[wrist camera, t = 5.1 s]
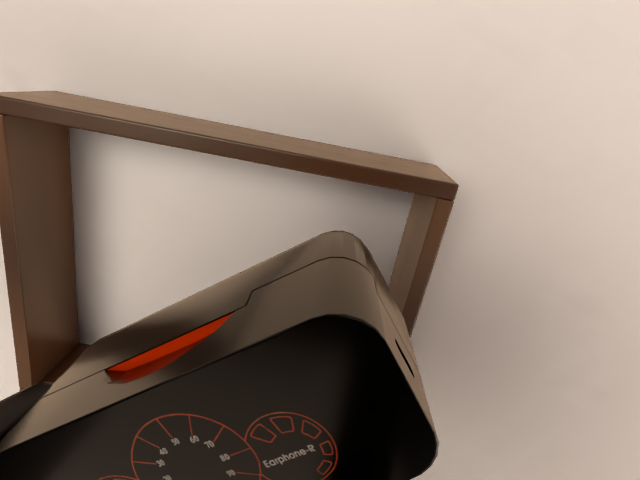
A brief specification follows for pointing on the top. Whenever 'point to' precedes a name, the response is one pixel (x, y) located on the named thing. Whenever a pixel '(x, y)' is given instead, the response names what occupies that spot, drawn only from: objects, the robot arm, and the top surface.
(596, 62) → the top surface
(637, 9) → the top surface
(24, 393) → the robot arm
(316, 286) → the black dial case
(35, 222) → the desk tray
